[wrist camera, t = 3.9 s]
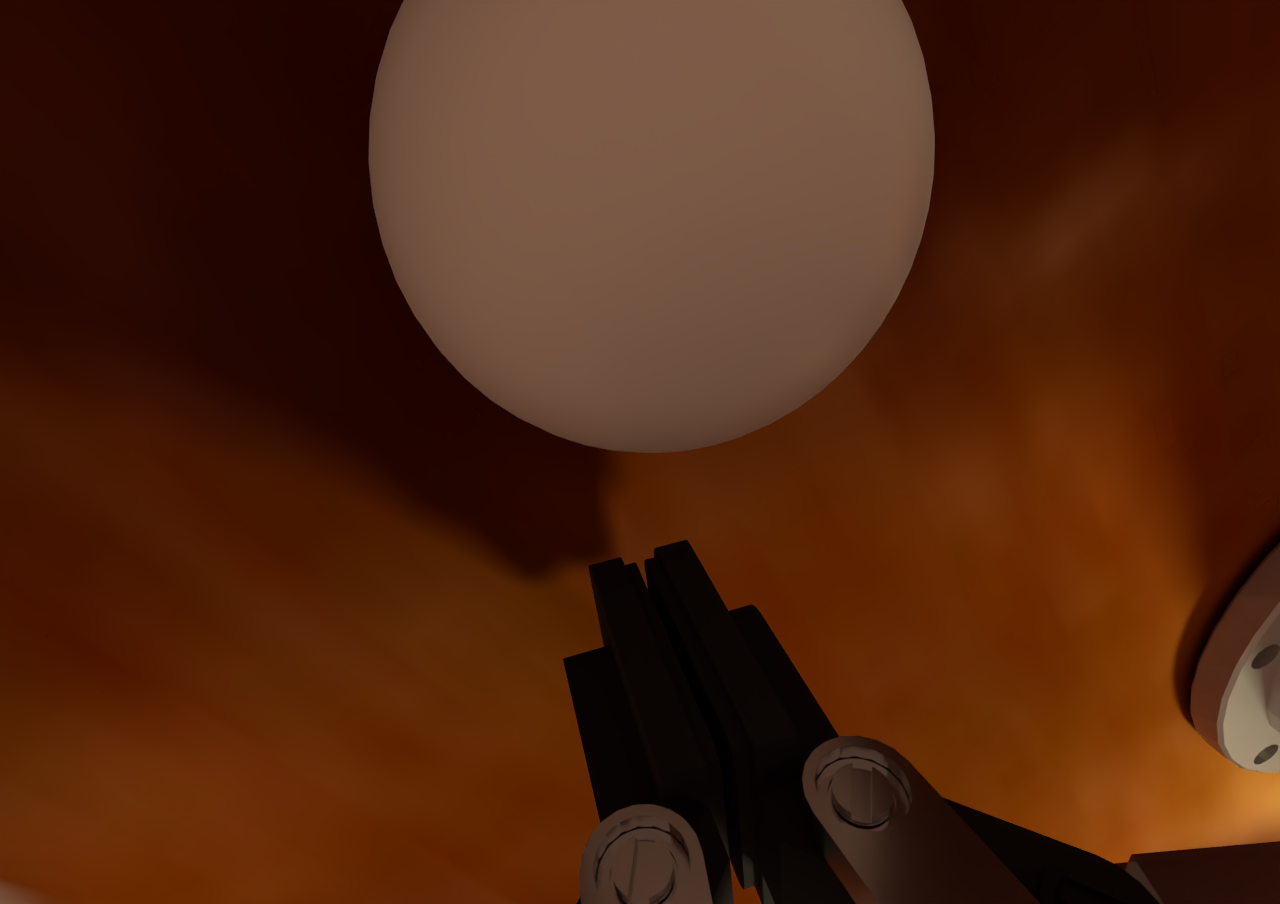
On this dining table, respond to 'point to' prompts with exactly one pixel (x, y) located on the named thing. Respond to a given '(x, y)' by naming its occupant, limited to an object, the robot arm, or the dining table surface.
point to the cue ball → (651, 202)
